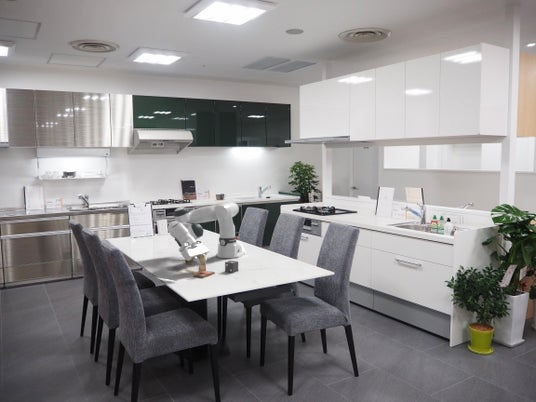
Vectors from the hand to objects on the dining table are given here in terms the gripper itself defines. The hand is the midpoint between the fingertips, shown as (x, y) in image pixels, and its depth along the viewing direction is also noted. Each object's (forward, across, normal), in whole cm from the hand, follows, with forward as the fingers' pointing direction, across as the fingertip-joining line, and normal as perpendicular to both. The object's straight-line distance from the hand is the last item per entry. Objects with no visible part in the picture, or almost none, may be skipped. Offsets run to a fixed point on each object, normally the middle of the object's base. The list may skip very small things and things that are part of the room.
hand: (203, 262), depth 276 cm
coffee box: (-9, -17, -20) cm, 28 cm away
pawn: (+3, 0, -4) cm, 5 cm away
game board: (-2, 0, -13) cm, 13 cm away
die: (+13, -16, +2) cm, 21 cm away
